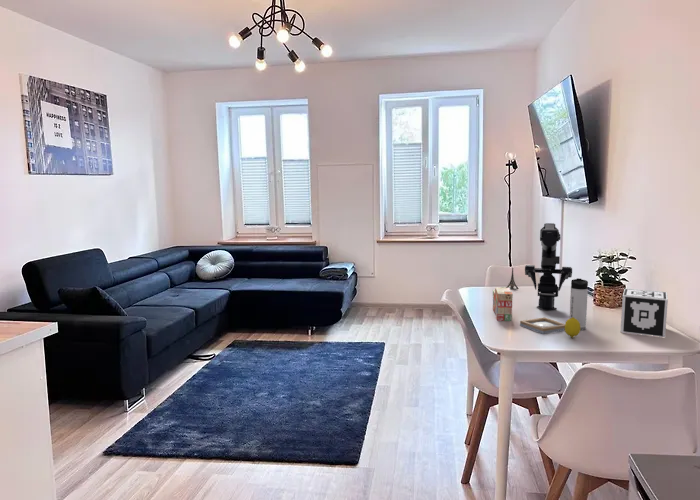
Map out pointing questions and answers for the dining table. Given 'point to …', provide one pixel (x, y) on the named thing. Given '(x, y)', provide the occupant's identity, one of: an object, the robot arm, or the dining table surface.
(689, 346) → the dining table surface
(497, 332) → the dining table surface
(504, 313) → the stack of blocks
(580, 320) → the travel mug
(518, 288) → the eiffel tower figurine
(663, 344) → the dining table surface
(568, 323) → the lemon
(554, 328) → the square wooden frame
